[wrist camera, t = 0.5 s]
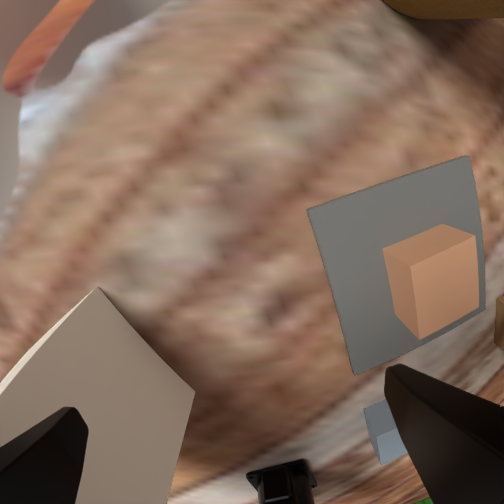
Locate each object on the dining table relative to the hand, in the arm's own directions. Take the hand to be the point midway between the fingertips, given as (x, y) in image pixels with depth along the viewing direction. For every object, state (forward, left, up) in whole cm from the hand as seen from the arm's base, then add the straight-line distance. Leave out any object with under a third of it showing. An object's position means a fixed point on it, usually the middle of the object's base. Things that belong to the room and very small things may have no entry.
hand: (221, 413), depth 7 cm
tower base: (-5, -13, -14) cm, 20 cm away
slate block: (-20, -9, -14) cm, 26 cm away
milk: (-5, +14, -14) cm, 21 cm away
